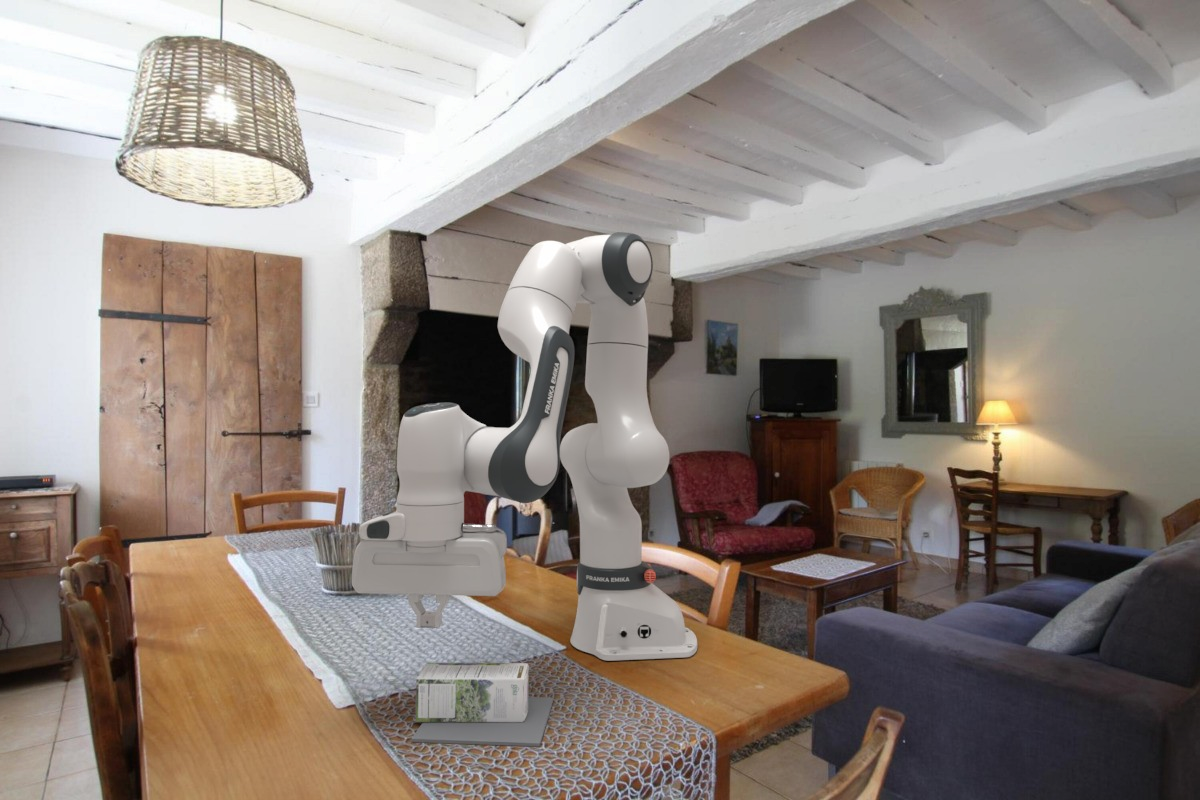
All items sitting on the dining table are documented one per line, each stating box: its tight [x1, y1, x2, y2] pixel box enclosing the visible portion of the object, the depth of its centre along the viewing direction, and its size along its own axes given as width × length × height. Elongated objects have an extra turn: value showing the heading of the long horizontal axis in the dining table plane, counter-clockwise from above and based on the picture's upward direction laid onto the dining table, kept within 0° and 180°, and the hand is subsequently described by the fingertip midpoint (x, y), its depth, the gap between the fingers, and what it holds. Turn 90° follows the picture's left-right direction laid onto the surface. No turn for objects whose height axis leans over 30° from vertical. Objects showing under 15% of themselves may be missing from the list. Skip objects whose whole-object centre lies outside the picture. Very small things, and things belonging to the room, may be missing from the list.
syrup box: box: [415, 662, 530, 723], centre depth 88 cm, size 6×6×14 cm
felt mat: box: [411, 696, 555, 748], centre depth 87 cm, size 16×13×1 cm
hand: (429, 626), depth 88 cm, fingers closed
